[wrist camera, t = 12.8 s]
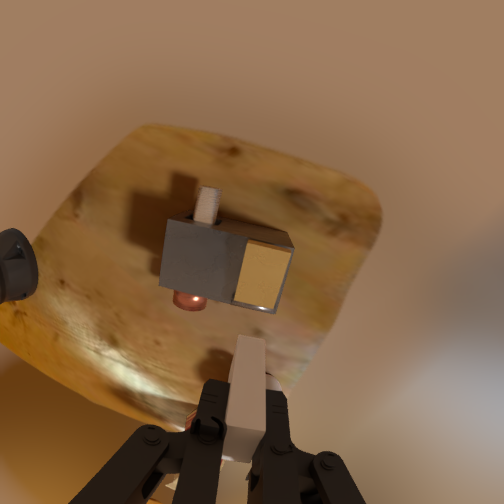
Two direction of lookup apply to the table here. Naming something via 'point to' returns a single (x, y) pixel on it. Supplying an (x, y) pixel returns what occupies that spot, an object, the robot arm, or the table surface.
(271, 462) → the robot arm
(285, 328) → the table surface
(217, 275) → the block
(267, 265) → the tan rectangular plate
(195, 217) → the pin
